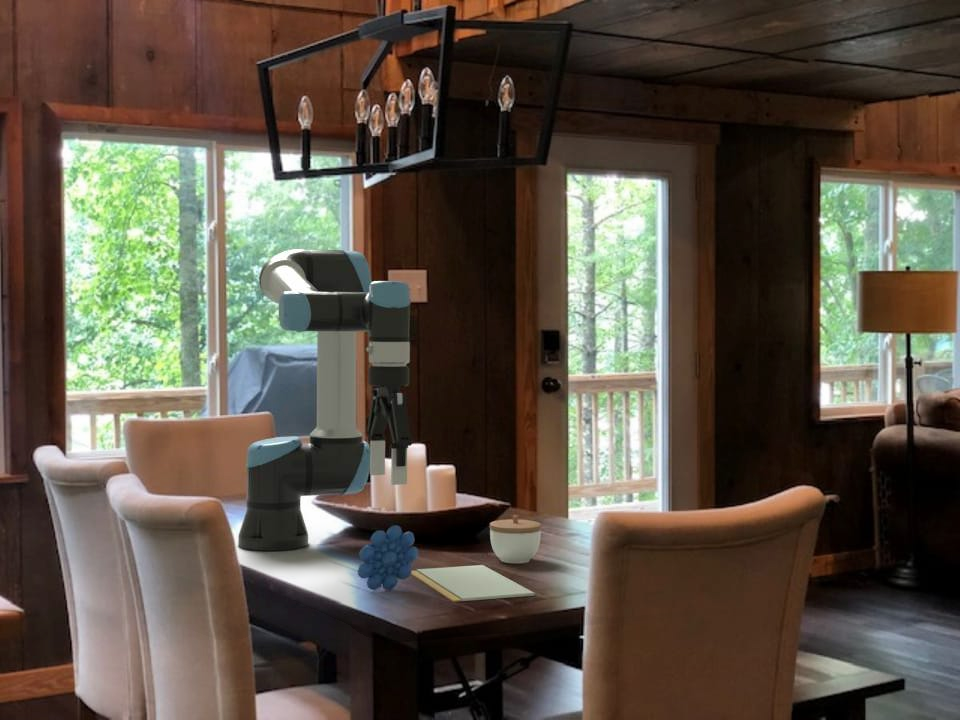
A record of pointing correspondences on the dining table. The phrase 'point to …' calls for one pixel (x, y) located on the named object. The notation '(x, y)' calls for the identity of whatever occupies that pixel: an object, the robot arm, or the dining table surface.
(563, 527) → the dining table surface
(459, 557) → the dining table surface
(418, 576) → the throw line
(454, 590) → the mat
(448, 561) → the dining table surface
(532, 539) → the lidded jar
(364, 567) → the grapes
